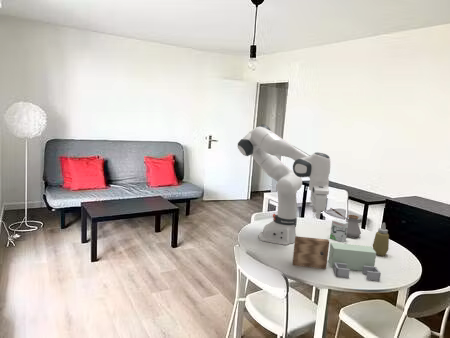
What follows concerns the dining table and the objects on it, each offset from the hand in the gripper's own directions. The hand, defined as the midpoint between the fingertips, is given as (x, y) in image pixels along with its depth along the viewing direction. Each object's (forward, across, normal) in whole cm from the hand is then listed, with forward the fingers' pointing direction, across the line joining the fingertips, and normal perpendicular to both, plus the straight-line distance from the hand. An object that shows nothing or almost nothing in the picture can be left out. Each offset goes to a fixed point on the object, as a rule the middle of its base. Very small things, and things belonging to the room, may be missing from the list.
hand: (315, 214), depth 160 cm
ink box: (+26, -41, +22) cm, 54 cm away
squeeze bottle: (+27, -24, +41) cm, 55 cm away
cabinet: (+26, +1, +20) cm, 33 cm away
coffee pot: (+26, -53, +28) cm, 66 cm away
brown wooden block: (+26, +1, -1) cm, 26 cm away
